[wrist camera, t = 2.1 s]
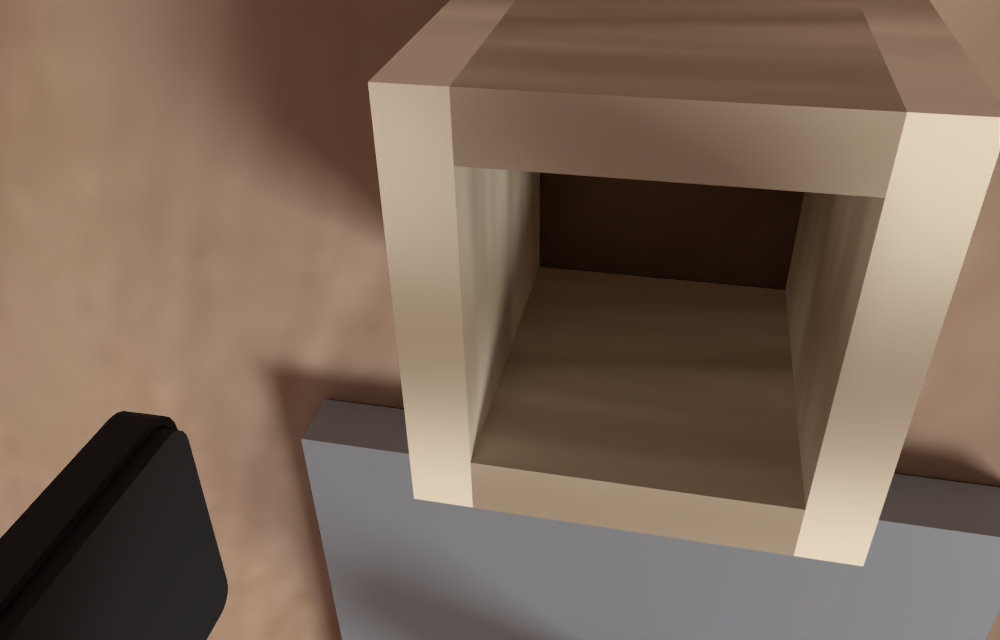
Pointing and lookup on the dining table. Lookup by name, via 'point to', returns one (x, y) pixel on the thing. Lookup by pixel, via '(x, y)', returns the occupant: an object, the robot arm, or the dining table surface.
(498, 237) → the birch collar
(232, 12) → the dining table surface
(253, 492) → the dining table surface
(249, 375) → the dining table surface
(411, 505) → the grey board
